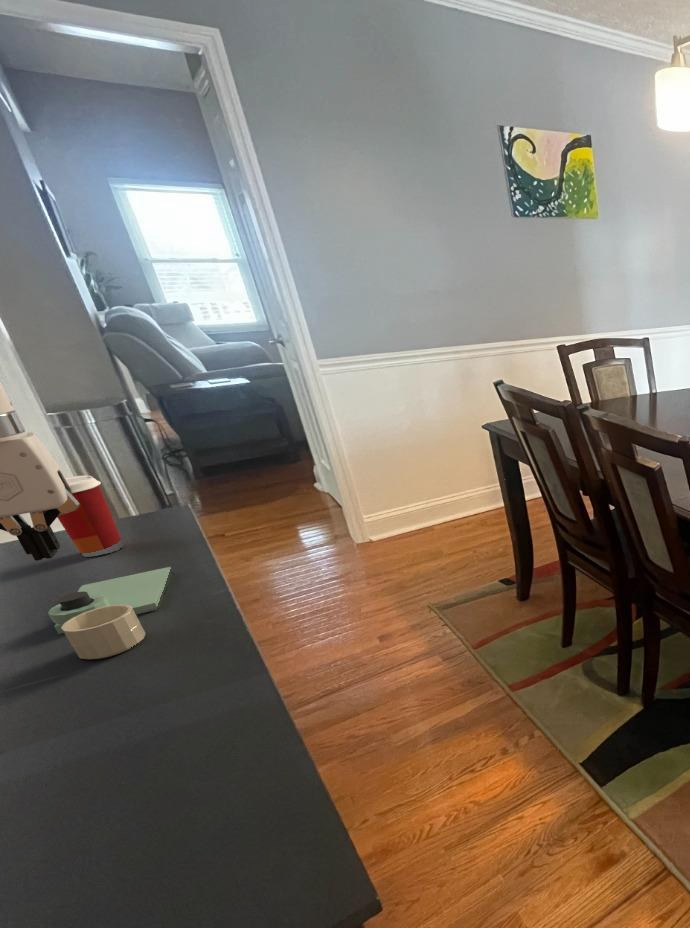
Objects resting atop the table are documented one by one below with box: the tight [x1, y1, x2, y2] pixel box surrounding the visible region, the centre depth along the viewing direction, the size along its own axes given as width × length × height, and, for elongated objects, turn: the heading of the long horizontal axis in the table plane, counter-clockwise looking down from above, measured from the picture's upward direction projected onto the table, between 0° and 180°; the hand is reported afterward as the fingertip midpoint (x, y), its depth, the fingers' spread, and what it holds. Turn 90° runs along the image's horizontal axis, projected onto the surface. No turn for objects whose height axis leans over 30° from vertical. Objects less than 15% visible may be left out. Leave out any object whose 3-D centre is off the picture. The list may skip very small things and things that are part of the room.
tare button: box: [58, 591, 92, 611], centre depth 88 cm, size 3×3×2 cm
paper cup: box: [56, 475, 122, 554], centre depth 110 cm, size 8×8×14 cm
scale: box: [47, 566, 172, 635], centre depth 94 cm, size 12×16×3 cm
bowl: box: [61, 604, 146, 660], centre depth 83 cm, size 7×7×5 cm
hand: (46, 555), depth 85 cm, fingers closed
